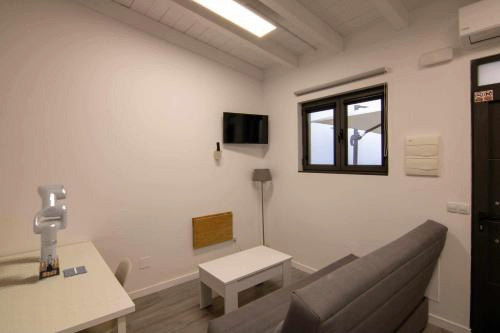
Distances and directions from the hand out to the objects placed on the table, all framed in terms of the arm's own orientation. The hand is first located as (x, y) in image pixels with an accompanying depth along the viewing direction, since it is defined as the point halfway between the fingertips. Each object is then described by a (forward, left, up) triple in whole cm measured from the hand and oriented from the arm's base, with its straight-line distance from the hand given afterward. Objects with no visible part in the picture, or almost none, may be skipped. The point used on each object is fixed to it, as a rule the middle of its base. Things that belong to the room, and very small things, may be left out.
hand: (49, 269), depth 166 cm
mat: (+1, +14, -5) cm, 15 cm away
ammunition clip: (0, 0, -5) cm, 5 cm away
